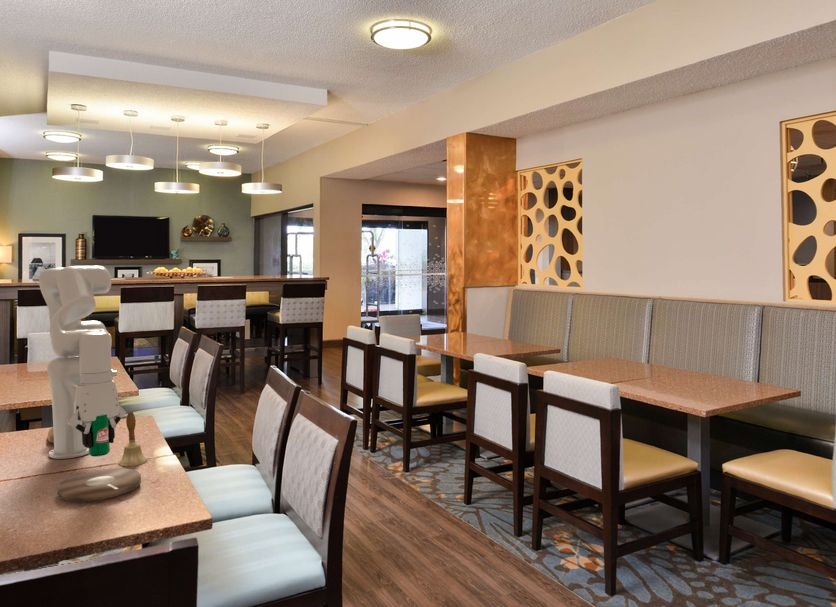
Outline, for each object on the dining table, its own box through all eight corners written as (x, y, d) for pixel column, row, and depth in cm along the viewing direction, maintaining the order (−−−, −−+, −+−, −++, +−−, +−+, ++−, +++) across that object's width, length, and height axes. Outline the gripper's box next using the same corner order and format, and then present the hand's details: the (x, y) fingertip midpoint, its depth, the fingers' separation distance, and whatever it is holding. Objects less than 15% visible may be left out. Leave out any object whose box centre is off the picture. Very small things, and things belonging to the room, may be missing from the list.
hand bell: (136, 467, 181) (134, 415, 180) (111, 465, 183) (110, 413, 182) (153, 458, 190) (151, 408, 188) (130, 456, 191) (128, 407, 190)
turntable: (44, 488, 161) (44, 483, 161) (119, 468, 177) (119, 463, 177) (77, 507, 149) (77, 501, 149) (155, 484, 165) (154, 478, 165)
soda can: (99, 457, 159) (97, 413, 158) (84, 456, 161) (82, 411, 160) (114, 452, 164) (112, 408, 163) (99, 450, 165) (97, 407, 165)
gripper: (121, 371, 170) (123, 435, 171) (55, 381, 156) (58, 449, 158) (134, 374, 165) (136, 439, 167) (68, 384, 152) (71, 455, 153)
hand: (98, 443), depth 162 cm, fingers closed on soda can, 5 cm apart
